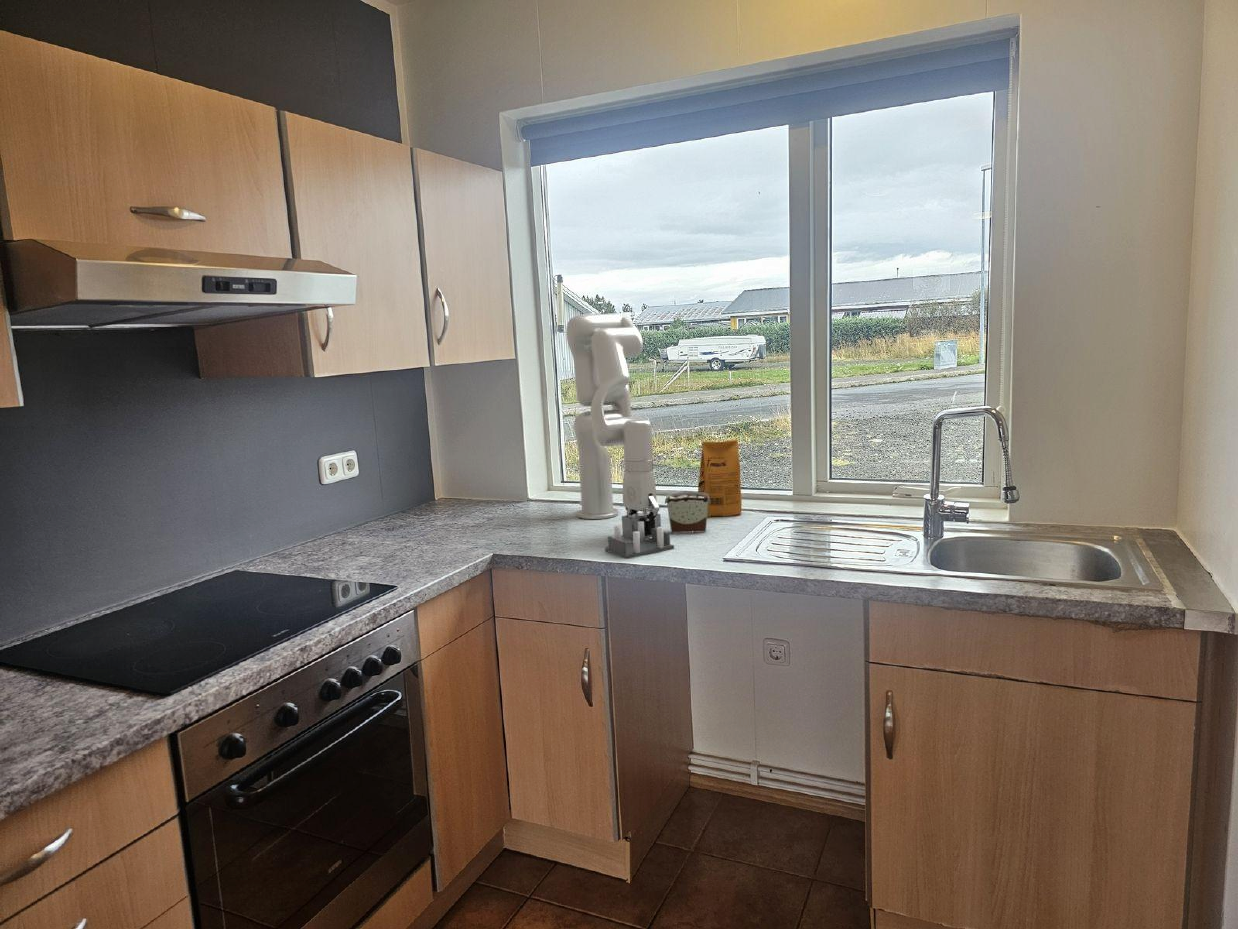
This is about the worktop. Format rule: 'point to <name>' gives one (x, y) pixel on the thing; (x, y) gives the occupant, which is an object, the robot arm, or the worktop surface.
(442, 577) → the worktop surface
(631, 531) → the block
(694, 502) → the food container
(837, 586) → the worktop surface
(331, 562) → the worktop surface
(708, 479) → the coffee package
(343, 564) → the worktop surface
